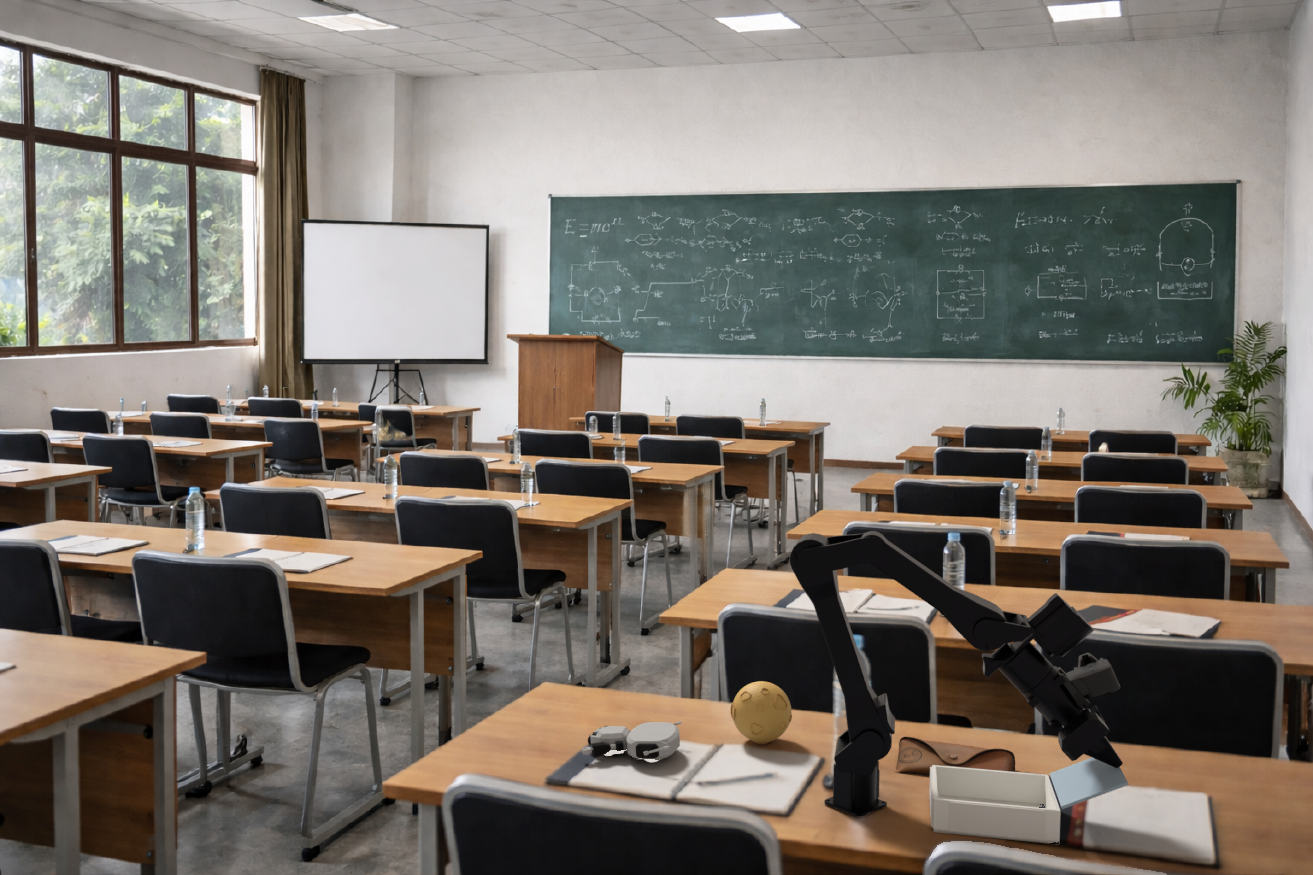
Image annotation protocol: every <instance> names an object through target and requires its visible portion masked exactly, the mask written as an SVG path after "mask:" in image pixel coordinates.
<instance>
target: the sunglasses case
mask: <svg viewBox="0 0 1313 875" xmlns="http://www.w3.org/2000/svg"><path fill="white" fill-rule="evenodd" d="M932 765H939V766H951V767H963V768H975V769H986V770H998V771H1010V772H1016V757H1015V754H1014V752H1013V751H1011V750H1010V749H1005V748H996V747H995V748H985V747H980V746H973V745H967V744H959V743H953V742H952V743H951V742H943V741H934V740H925V739H920V738H919V737H918V738H917V737H914V736H902V737H901V738H900V739H899V741H898V753H897V762H896V765H895V771H894V773H897V774H904V775H905V774H906V775H917V776H923V777H924V776H925V777H930V767H932Z"/></svg>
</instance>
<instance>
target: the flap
mask: <svg viewBox="0 0 1313 875" xmlns="http://www.w3.org/2000/svg"><path fill="white" fill-rule="evenodd" d="M1048 775H1049V776H1050V779H1051V783H1052V786H1053V787H1054V788H1053V789H1054V790H1055V795H1056V796H1057V797H1056V798H1058V802H1059V804H1060V809H1061V810H1064V809H1067V808H1069V807H1073V806H1076V805H1078V804H1081V803H1084V802H1087V801H1089V800H1091V799H1095V798H1096V797H1101V796H1102V795H1106V794H1107V793H1110V792H1113V791H1114V792H1115V791H1116V790H1118V789H1122V788H1124V787H1126V786H1129V785H1130V784H1129V782H1128V780H1127V778H1126V777H1125V774H1124V772H1123V770H1122V769H1121V766H1120V767H1118V768H1115V767H1113V766H1110V765H1108V764H1106V763H1104V762H1101V761H1099V760H1097V759H1094V758H1092V757H1089V758H1087V759H1084V760H1082V761H1078V762H1077V763H1074V764H1071V765H1068V766H1066V767H1063V768H1061V769H1060V768H1059V769H1057V770H1056V771H1051V772H1050V773H1049V774H1048Z"/></svg>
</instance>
